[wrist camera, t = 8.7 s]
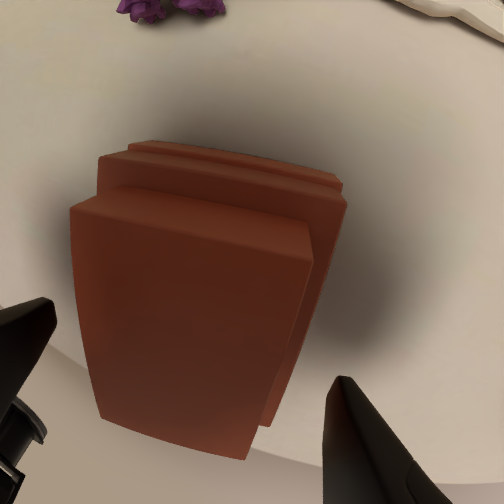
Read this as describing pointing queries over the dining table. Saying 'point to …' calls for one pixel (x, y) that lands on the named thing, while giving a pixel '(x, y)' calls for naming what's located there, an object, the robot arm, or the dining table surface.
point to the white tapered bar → (465, 13)
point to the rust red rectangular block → (185, 312)
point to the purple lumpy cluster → (148, 6)
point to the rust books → (244, 196)
